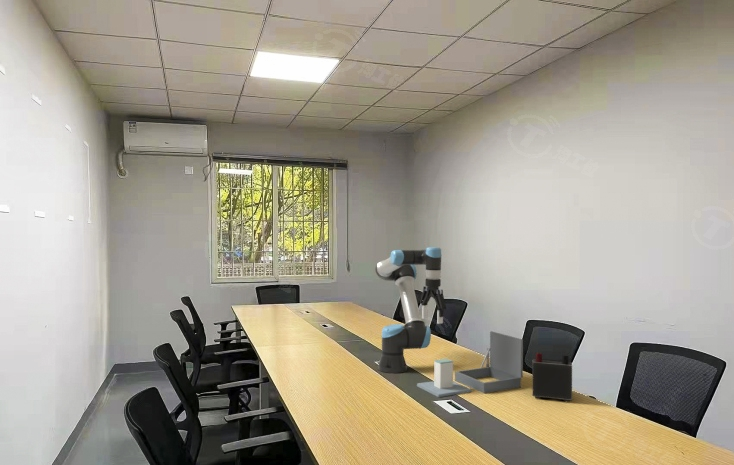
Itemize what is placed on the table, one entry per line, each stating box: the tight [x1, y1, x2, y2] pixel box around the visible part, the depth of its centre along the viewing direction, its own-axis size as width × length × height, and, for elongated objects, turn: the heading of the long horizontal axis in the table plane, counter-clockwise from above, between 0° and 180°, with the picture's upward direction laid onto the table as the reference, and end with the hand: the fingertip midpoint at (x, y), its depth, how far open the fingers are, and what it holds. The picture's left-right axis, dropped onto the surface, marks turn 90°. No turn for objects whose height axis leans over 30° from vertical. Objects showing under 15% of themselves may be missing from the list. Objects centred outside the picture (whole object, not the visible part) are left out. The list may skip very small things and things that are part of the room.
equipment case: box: [454, 331, 524, 394], centre depth 240 cm, size 23×23×22 cm
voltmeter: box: [532, 352, 573, 403], centre depth 222 cm, size 16×16×20 cm
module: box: [433, 358, 454, 389], centre depth 230 cm, size 5×7×12 cm
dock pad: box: [416, 380, 472, 398], centre depth 230 cm, size 18×18×1 cm
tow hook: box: [485, 347, 490, 367], centre depth 262 cm, size 8×13×9 cm
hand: (432, 320), depth 246 cm, fingers open, 13 cm apart
